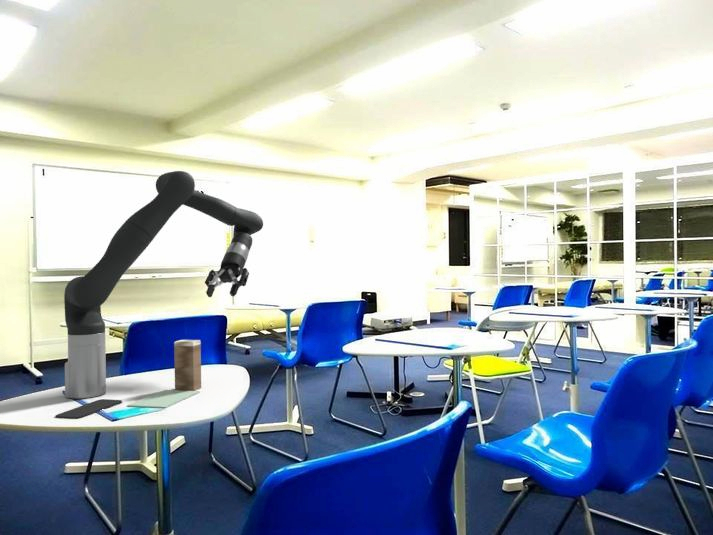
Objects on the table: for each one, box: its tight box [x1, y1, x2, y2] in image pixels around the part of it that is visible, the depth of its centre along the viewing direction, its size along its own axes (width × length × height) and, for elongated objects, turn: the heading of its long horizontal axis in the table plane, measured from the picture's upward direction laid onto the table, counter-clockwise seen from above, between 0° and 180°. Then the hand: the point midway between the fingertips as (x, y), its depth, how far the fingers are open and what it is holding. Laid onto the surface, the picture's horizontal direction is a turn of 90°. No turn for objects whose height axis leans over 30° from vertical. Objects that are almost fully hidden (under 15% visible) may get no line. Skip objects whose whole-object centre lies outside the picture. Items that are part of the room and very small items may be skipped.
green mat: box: [126, 389, 201, 409], centre depth 129 cm, size 11×16×1 cm
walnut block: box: [173, 339, 202, 391], centre depth 140 cm, size 6×4×14 cm, turn 78°
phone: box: [54, 398, 123, 420], centre depth 120 cm, size 7×1×15 cm
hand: (220, 295), depth 157 cm, fingers open, 8 cm apart
